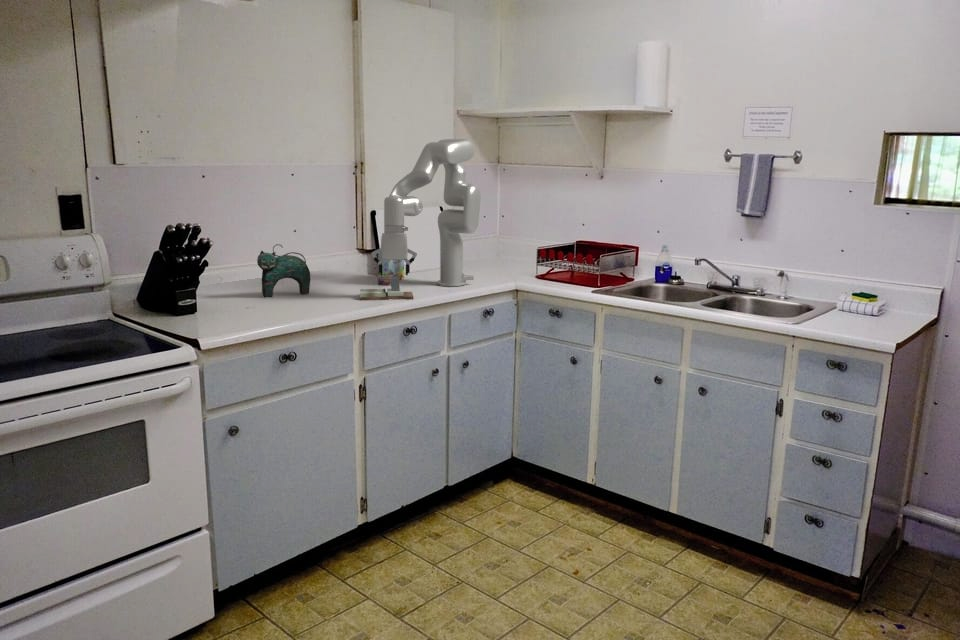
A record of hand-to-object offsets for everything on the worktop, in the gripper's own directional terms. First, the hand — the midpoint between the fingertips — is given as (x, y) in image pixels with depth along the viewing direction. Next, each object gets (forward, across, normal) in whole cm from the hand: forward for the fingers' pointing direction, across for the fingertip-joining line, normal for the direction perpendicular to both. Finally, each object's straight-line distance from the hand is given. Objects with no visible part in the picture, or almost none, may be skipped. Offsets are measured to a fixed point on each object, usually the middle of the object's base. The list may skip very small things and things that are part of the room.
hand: (394, 274), depth 278 cm
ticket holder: (+9, +3, -1) cm, 9 cm away
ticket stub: (+7, -1, -1) cm, 7 cm away
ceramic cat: (+10, +42, -9) cm, 44 cm away
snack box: (+8, 0, -38) cm, 39 cm away
